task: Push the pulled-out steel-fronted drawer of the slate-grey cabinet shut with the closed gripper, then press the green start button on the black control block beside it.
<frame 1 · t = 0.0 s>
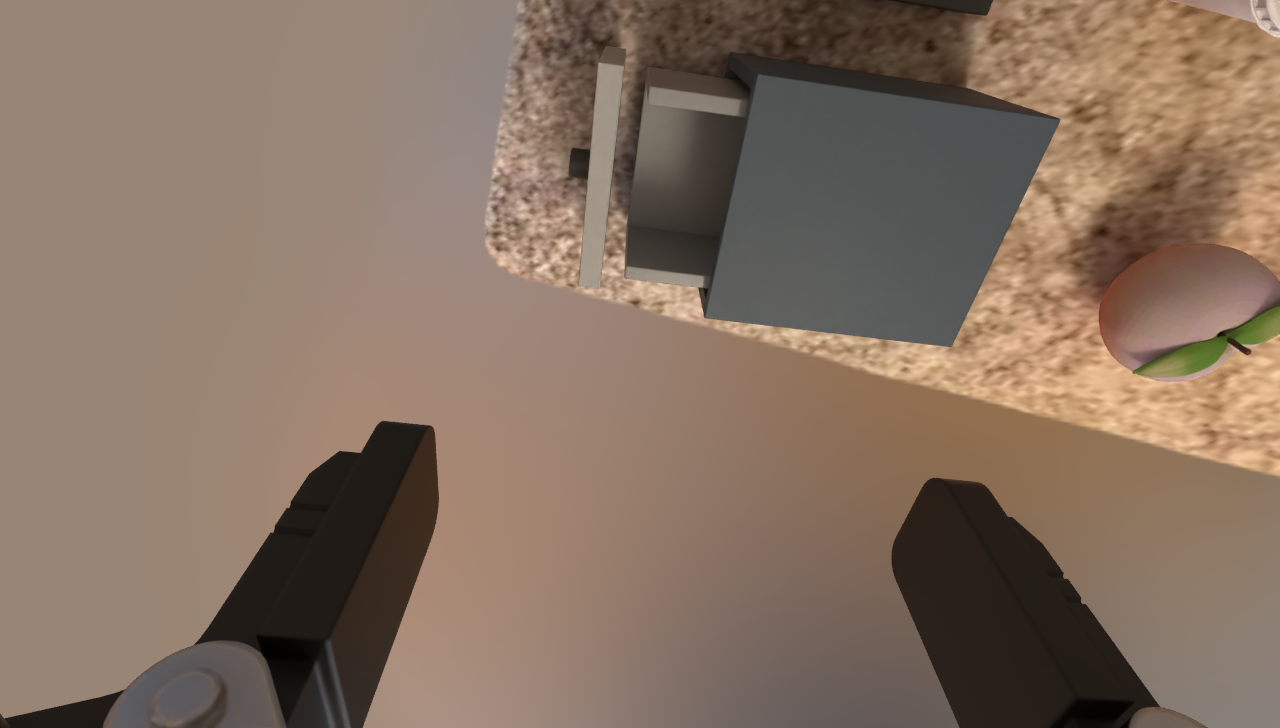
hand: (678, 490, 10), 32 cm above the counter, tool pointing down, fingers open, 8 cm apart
decorative fruit: (1126, 276, 43), on the counter
drawer: (699, 179, 35), point 5 cm above the counter, slide at 6.0 cm
cabinet: (819, 176, 39), on the counter
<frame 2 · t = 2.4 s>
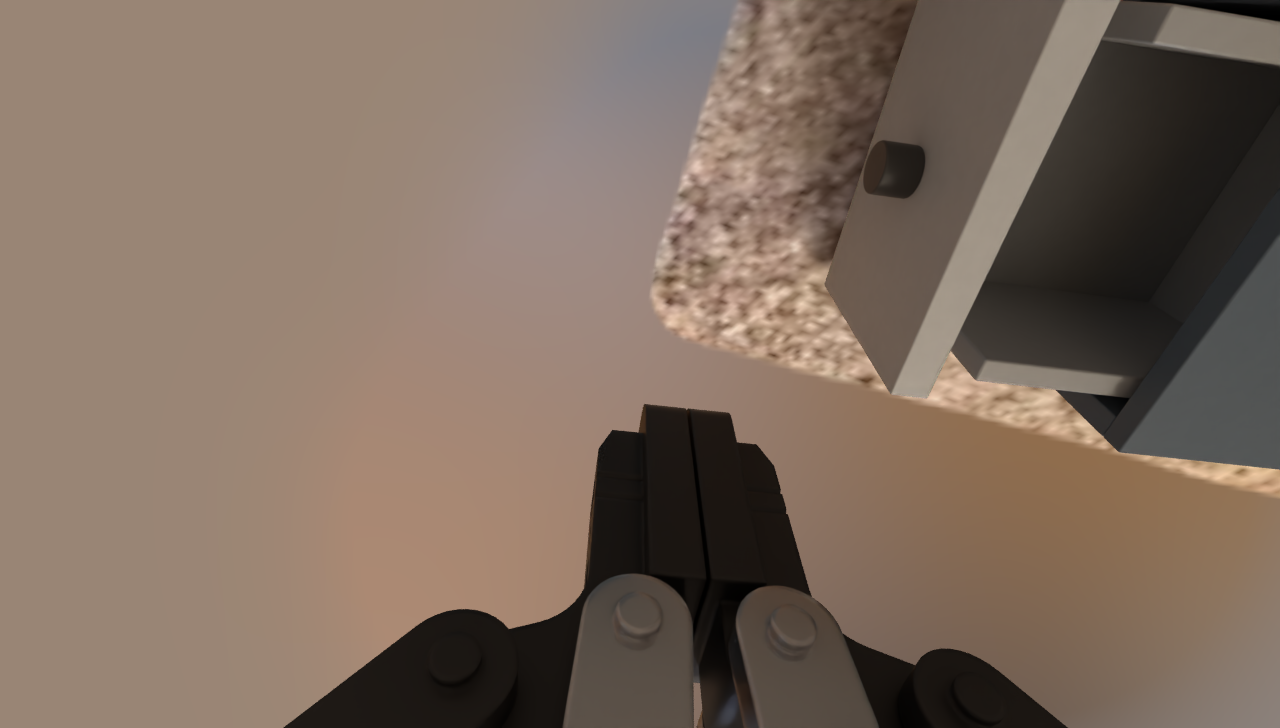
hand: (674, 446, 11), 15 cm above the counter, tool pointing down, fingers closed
drawer: (1097, 198, 19), point 5 cm above the counter, slide at 6.0 cm
cabinet: (1216, 188, 24), on the counter
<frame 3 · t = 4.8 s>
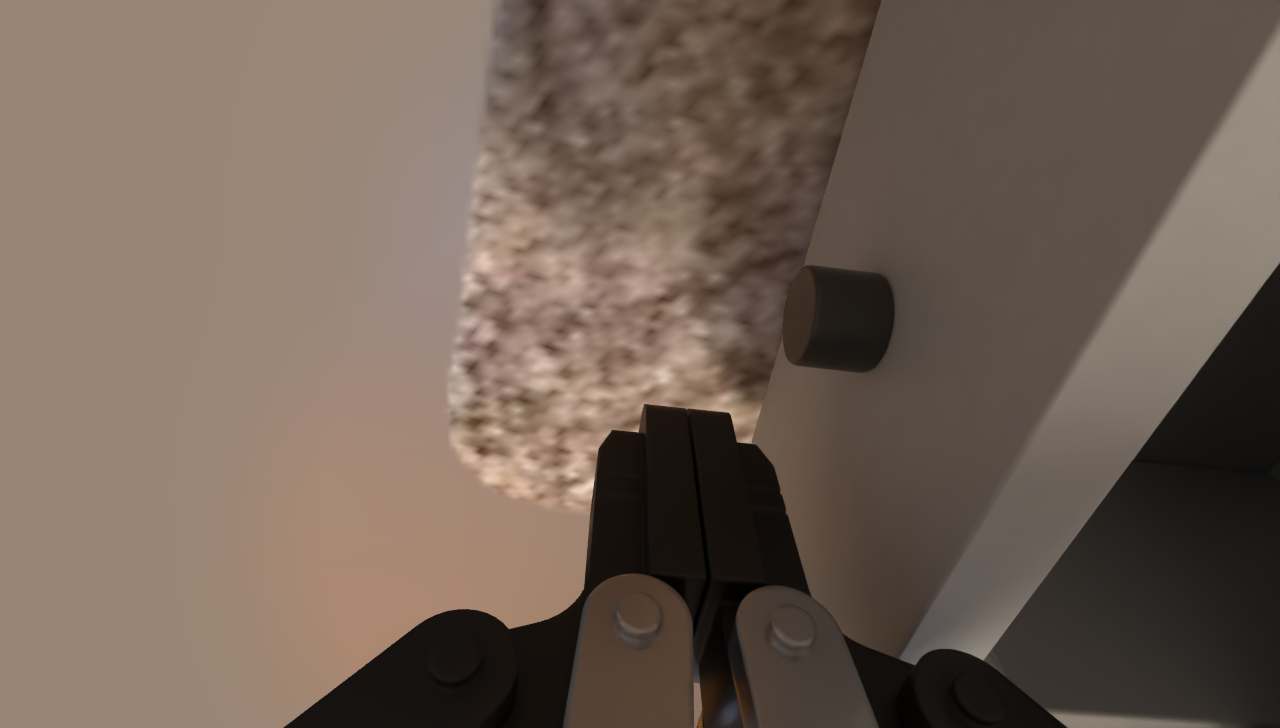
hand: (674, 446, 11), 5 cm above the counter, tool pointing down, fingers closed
drawer: (1225, 364, 10), point 5 cm above the counter, slide at 4.8 cm, touching gripper
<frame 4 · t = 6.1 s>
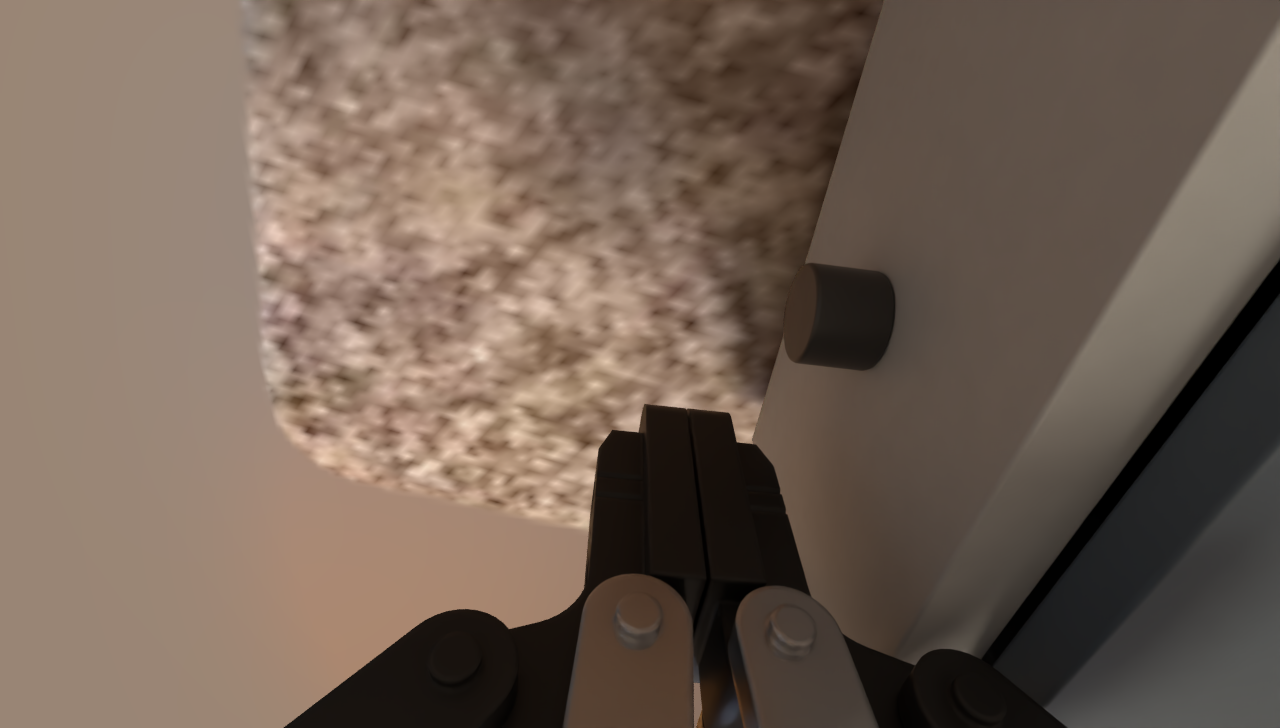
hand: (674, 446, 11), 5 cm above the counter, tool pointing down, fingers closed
drawer: (1225, 364, 10), point 5 cm above the counter, slide at 0.0 cm, touching cabinet, gripper
cabinet: (1151, 267, 14), on the counter
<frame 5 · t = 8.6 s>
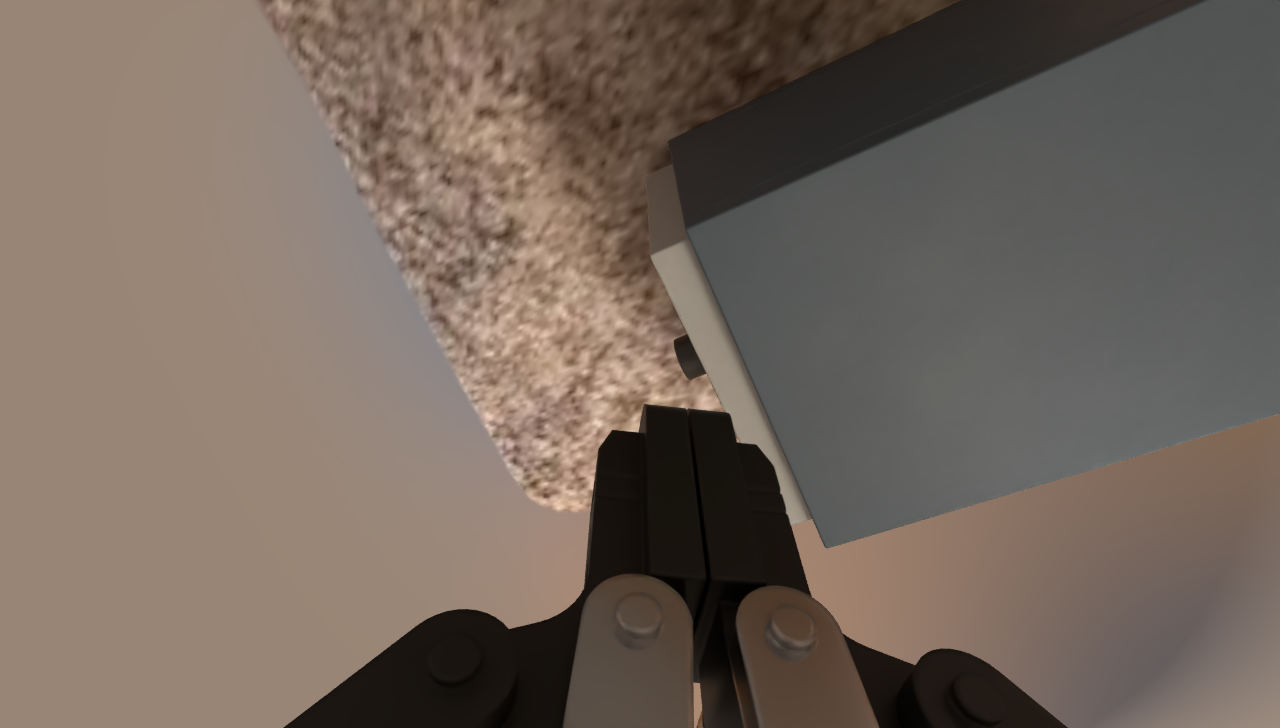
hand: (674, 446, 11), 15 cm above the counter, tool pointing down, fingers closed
drawer: (879, 282, 21), point 5 cm above the counter, slide at 0.0 cm
cabinet: (897, 209, 24), on the counter
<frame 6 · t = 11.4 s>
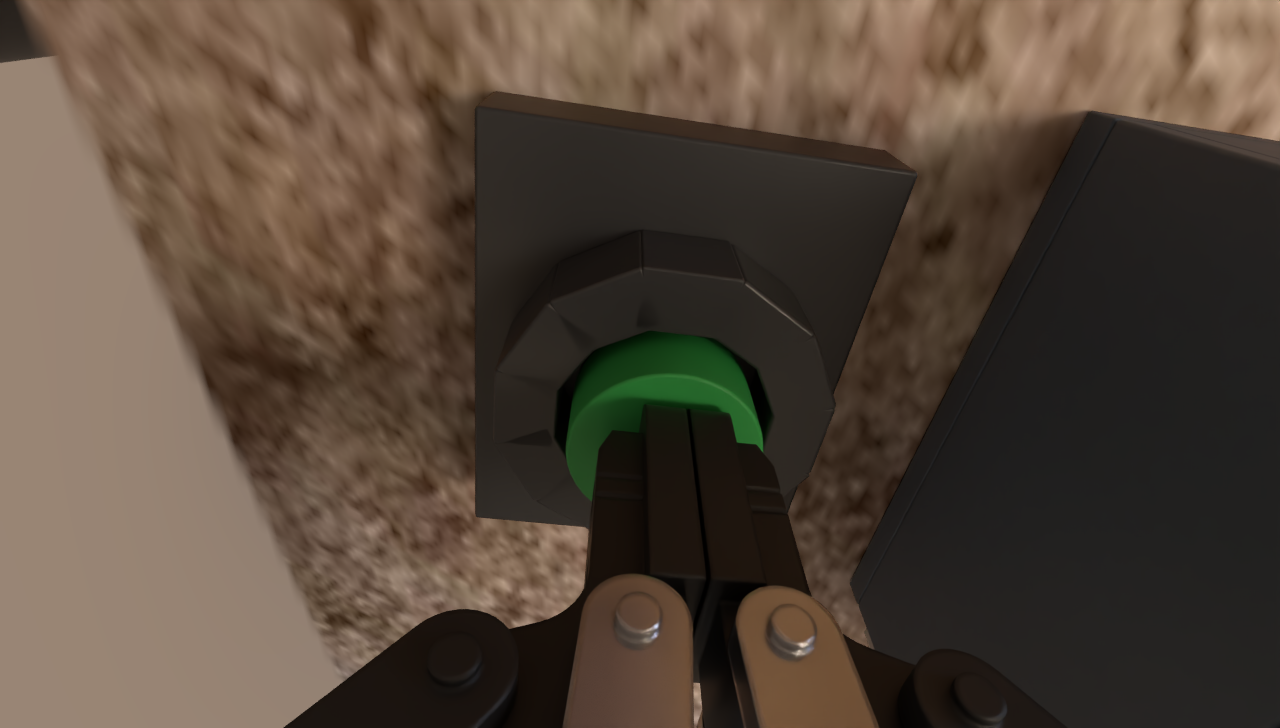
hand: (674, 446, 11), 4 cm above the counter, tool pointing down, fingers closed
start button: (662, 427, 12), point 4 cm above the counter, slide at -0.4 cm, touching gripper
drawer: (1253, 644, 14), point 5 cm above the counter, slide at 0.0 cm
control block: (656, 336, 15), on the counter
cabinet: (1159, 429, 16), on the counter
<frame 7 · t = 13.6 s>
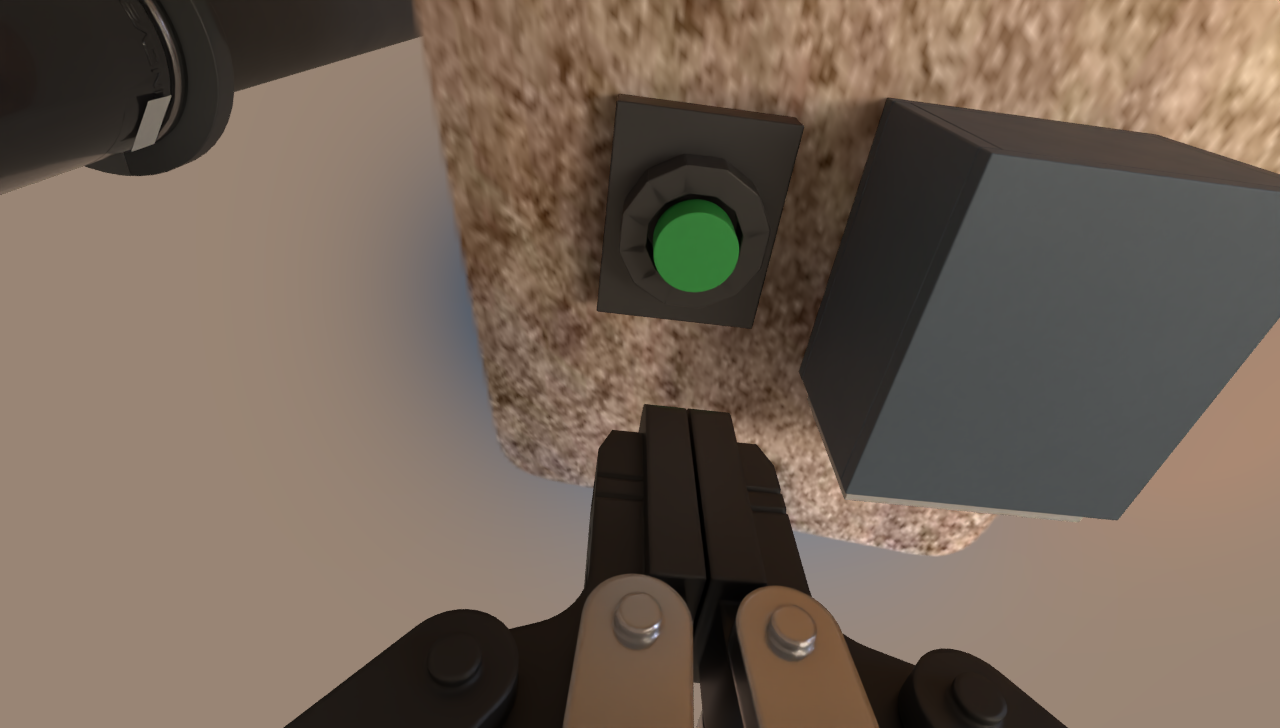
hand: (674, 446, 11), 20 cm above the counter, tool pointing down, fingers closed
start button: (694, 246, 26), point 4 cm above the counter, slide at 0.2 cm
drawer: (981, 356, 28), point 5 cm above the counter, slide at 0.0 cm
control block: (689, 214, 29), on the counter
cabinet: (957, 267, 31), on the counter
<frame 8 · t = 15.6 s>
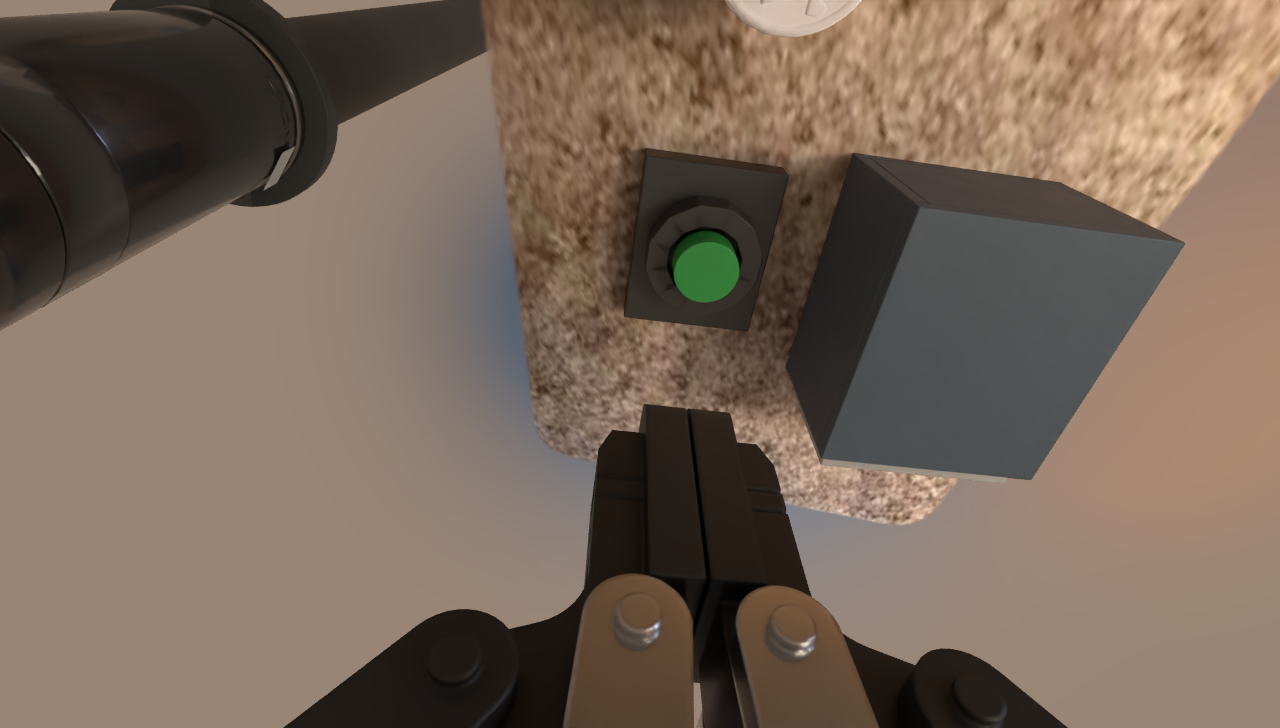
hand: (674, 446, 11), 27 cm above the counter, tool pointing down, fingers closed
start button: (705, 266, 34), point 4 cm above the counter, slide at 0.2 cm
drawer: (927, 352, 36), point 5 cm above the counter, slide at 0.0 cm
control block: (698, 240, 37), on the counter
cabinet: (910, 282, 39), on the counter
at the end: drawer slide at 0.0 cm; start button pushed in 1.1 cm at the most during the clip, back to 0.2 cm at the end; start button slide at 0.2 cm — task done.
